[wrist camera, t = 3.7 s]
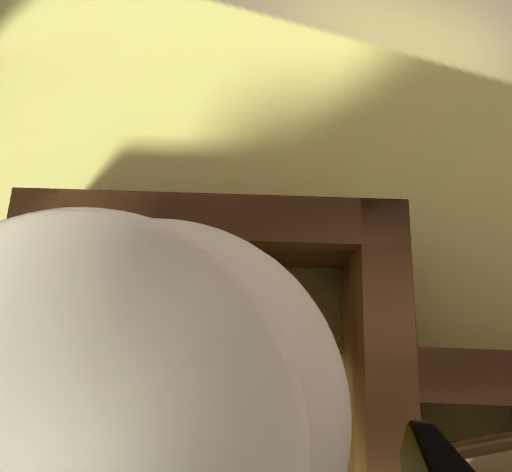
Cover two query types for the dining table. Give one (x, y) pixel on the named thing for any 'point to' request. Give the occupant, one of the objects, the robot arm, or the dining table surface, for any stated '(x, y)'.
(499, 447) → the offcut stack
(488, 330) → the dining table surface
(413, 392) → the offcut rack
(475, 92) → the dining table surface
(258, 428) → the supplement bottle
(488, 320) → the dining table surface
